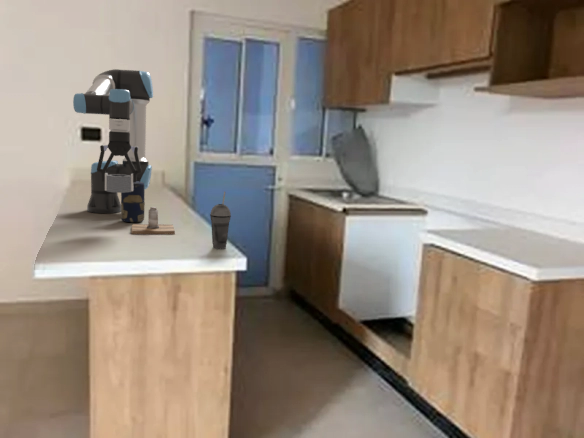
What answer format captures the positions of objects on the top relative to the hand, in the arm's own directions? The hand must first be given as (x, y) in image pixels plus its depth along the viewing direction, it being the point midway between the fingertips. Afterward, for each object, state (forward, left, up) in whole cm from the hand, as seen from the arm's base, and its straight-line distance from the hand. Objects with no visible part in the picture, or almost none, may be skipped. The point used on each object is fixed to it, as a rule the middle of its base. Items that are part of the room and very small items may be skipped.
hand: (119, 190), depth 210 cm
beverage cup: (+31, +35, -16) cm, 50 cm away
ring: (0, 0, 0) cm, 0 cm away
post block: (0, +13, -16) cm, 20 cm away
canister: (-20, +5, -16) cm, 26 cm away
